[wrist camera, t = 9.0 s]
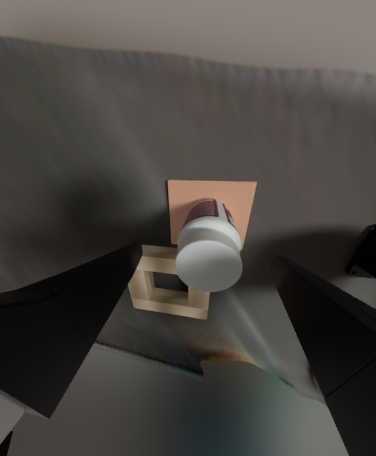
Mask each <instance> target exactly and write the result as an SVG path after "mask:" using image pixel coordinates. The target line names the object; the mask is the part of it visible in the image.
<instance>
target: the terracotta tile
mask: <svg viewBox="0 0 376 456" xmlns="http://www.w3.org/2000/svg"><path fill="white" fill-rule="evenodd" d="M256 185H257V182H256V181H214V180H168V193H169V210H170V227H171V244H177V243H178V236H179V234H180V231H181V229H182V227H183V225H184V222H185V220H186V218H187V216H188V213H189V211H190V209H191V207H192V206H193V205H194V204H195V203H196V202H197V201H199V200H201V199H204V198H215V199H218V200H220V201H222V202H223V203H225V204H226V206H227V207H228V209H229V211H230V213H231V215H232V218H233V220H234V223H235V225H236V228H237V230H238V232H239V235H240V238H241V250H242V249H243V244H244V240H245V235H246V230H247V226H248V221H249V217H250V212H251V207H252V203H253V198H254V194H255V189H256Z"/></svg>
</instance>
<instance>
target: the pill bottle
mask: <svg viewBox="0 0 376 456" xmlns="http://www.w3.org/2000/svg"><path fill="white" fill-rule="evenodd" d="M177 246H178V252H177V255H176V258H175V270H176V273H177V275H178V276H179V278H180V279H181V280H182V281H183V282H184V283H185V284H186V285H188V286H189V287H191V288H193V289H196V290H199V291H204V292H218V291H222V290H225V289H227V288H230V287H231V286H233V285H234V284H235V283H236V282H237V281H238V280H239V278H240V276H241V274H242V261H241V257H240V251H241V238H240V235H239V232H238V230H237V228H236V225H235V223H234V220H233V218H232V215H231V213H230V211H229V209H228V207H227V206H226V204H225V203H223V202H222V201H220V200H218V199H215V198H204V199H201V200H199V201H197V202H196V203H195V204H194V205H193V206H192V207H191V209H190V211H189V213H188V216H187V218H186V220H185V222H184V225H183V227H182V229H181V231H180V234H179V236H178V243H177Z"/></svg>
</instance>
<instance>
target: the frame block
mask: <svg viewBox="0 0 376 456" xmlns="http://www.w3.org/2000/svg"><path fill="white" fill-rule="evenodd" d="M129 245H130V244H129ZM142 251H143V255H142V257H141V260H140V262H139V264H138V266H137V269H136V271H135V273H134V275H133V277H132V278H131V280H130V282H129V283H128V287H129V291H130V294H131V298H132V302H133V306H134V308H138V309H144V310H150V311H156V312H163V313H169V314H175V315H181V316H187V317H193V318H199V319H205V320H207V314H208V305H209V296H210V292H204V291H199V290H196V289H193V288H191V287H189V286H188V292H184V291H177V290H169V289H162V288H155V285H154V278H153V272H161V273H169V274H177V273H176V270H175V258H176V255H177V252H178V248H173V247H162V246H151V245H142Z"/></svg>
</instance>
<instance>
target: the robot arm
mask: <svg viewBox="0 0 376 456" xmlns="http://www.w3.org/2000/svg"><path fill="white" fill-rule="evenodd" d="M142 255H143V251H142V245H141V243H137V242H135V243H132V244H130V245H128V246H125V247H123V248H120V249H118V250H116V251H113V252H111V253H109V254H106V255H104V256H101V257H99V258H97V259H94V260H92V261H90V262H87V263H85V264H83V265H80V266H78V267H75V268H73V269H70V270H68V271H65V272H63V273H60V274H58V275H55V276H52V277H50V278H47V279H44V280H42V281H39V282H36V283H33V284H31V285H28V286H25V287H23V288H20V289H17V290H13V291H9V292H3V293H0V456H7V453H8V449H9V445H10V441H11V437H12V433H13V431H11V429H12V428H13V426H14V425H15V424H16V423H17V421H18V420H19V419H20V417H21V416H22V415H23V413H24V412H27V413H30V414H33V415H36V416H40V417H43V418H47V419H49V418H50V417H51V415H52V414H53V412H54V411H55V409H56V407H57V406H58V404H59V402H60V400H61V399H62V397H63V395H64V393H65V392H66V390H67V388H68V387H69V385H70V383H71V382H72V380H73V378H74V376H75V375H76V373H77V371H78V370H79V368H80V366H81V364H82V363H83V361H84V359H85V358H86V356H87V354H88V352H89V350H90V349H91V347H92V345H93V344H94V342H95V340H96V338H97V337H98V335H99V333H100V332H101V330H102V328H103V326H104V325H105V323H106V321H107V319H108V318H109V316H110V314H111V313H112V311H113V309H114V307H115V306H116V304H117V302H118V301H119V299H120V297H121V295H122V294H123V292H124V290H125V289H126V287H127V285H128V283H129V282H130V280H131V278H132V277H133V275H134V273H135V271H136V269H137V266H138V264H139V262H140V260H141V257H142ZM271 271H272V274H273V278H274V281H275V284H276V287H277V290H278V293H279V295H280V298H281V300H282V302H283V304H284V307H285V309H286V311H287V314H288V316H289V318H290V321H291V323H292V325H293V327H294V330H295V332H296V334H297V337H298V339H299V341H300V344H301V346H302V348H303V350H304V353H305V355H306V357H307V360H308V362H309V364H310V367H311V369H312V371H313V373H314V376H315V378H316V380H317V383H318V385H319V387H320V390H321V392H322V394H323V396H324V397H325V398H324V399H325V401H326V404H327V406H328V408H329V411H330V413H331V415H332V417H333V419H334V422H335V424H336V427H337V429H338V431H339V434H340V436H341V438H342V440H343V443H344V445H345V447H346V450H347V452H348V454H349V456H376V309H375V308H373V307H371V306H369V305H367V304H366V303H364V302H362V301H360V300H359V299H357V298H354V297H353V296H352V295H350V294H348V293H346V292H345V291H343V290H341V289H340V288H338V287H336V286H334V285H333V284H331V283H329V282H327V281H326V280H324V279H322V278H320V277H319V276H317V275H315V274H313V273H312V272H310V271H308V270H306V269H305V268H303V267H301V266H299V265H298V264H296V263H294V262H293V261H291V260H289V259H287V258H286V257H284V256H281V255H275V256H274V257H273V260H272V263H271ZM346 273H347V274H349V275H350V276H357V277H366V278H375V279H376V227H375V228H374V229H373V231H372V232H371V234H370V235H369V237H368V238H367V240H366V241H365V243H364V244H363V246H362V247H361V249H360V250H359V251H358V253H357V254H356V256H355V257H354V259H353V260H352V262H351V263H350V265H349V266H348V268H347V269H346Z"/></svg>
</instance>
